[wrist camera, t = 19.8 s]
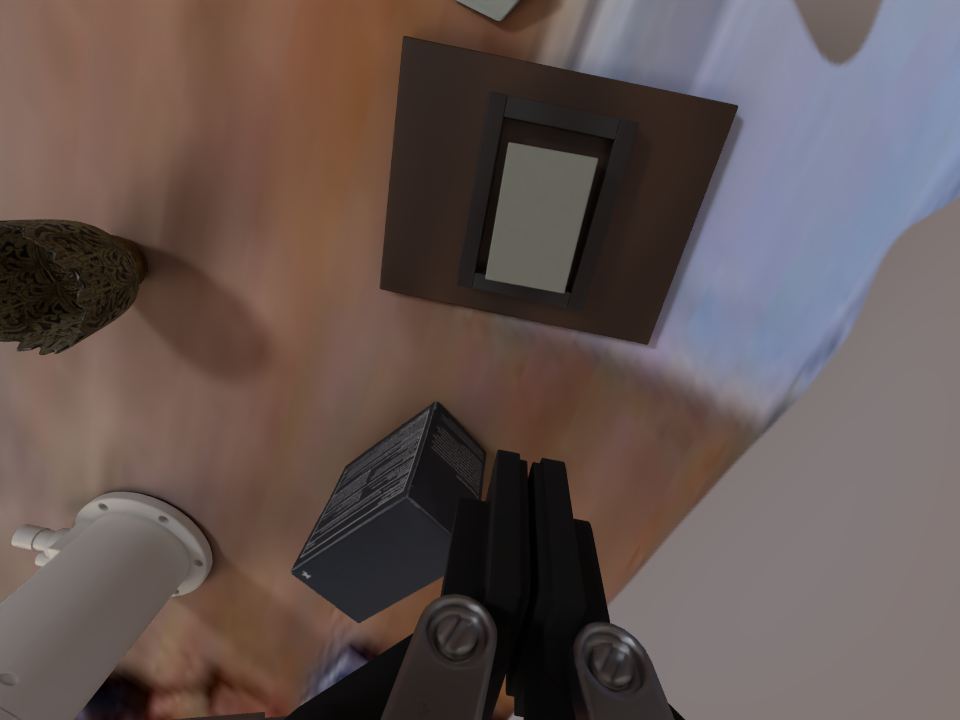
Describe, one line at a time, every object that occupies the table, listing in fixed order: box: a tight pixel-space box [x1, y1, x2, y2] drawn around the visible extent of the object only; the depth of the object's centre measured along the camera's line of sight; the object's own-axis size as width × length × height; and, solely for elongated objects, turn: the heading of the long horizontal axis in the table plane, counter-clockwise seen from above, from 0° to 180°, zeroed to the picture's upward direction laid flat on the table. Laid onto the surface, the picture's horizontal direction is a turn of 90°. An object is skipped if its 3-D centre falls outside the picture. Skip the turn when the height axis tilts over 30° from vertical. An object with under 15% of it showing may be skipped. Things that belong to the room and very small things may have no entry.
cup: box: [0, 220, 148, 355], centre depth 28 cm, size 8×7×8 cm
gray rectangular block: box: [485, 142, 598, 293], centre depth 26 cm, size 4×7×4 cm, turn 171°
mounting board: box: [380, 36, 738, 345], centre depth 27 cm, size 18×14×2 cm
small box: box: [291, 402, 486, 623], centre depth 32 cm, size 11×6×10 cm, turn 130°
